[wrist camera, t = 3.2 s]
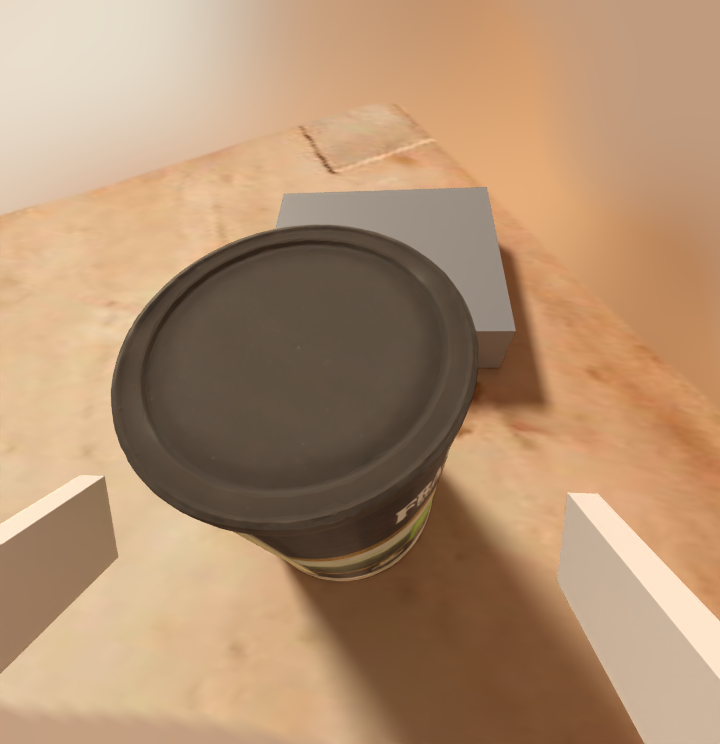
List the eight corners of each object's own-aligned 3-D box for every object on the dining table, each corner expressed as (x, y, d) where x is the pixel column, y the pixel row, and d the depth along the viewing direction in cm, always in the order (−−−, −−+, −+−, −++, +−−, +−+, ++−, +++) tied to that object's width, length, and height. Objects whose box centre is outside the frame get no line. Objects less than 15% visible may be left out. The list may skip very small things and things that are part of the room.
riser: (267, 366, 28) (250, 331, 24) (294, 234, 35) (283, 193, 32) (499, 367, 26) (515, 331, 23) (477, 230, 34) (486, 187, 30)
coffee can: (447, 424, 25) (500, 242, 13) (411, 609, 19) (442, 599, 8) (294, 389, 27) (216, 204, 15) (226, 547, 22) (22, 463, 10)
